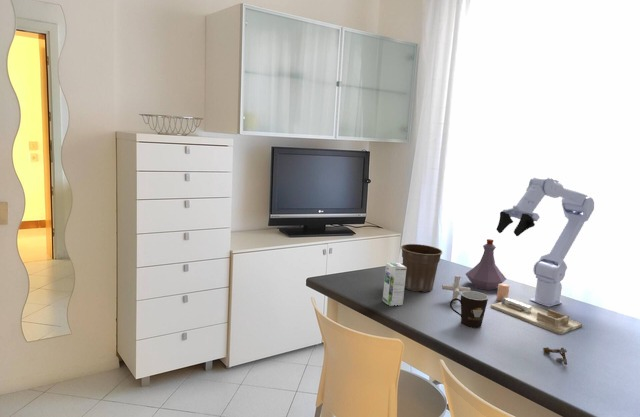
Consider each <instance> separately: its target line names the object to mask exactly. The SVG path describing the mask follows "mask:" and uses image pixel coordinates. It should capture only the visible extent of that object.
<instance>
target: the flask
mask: <svg viewBox="0 0 640 417" xmlns="http://www.w3.org/2000/svg"><path fill="white" fill-rule="evenodd" d="M482 247H483V254H482V256H481V259H480V261H479V262H478V263H477V264H476V265H475V266H474V267H473V268H471V269H469V271H468V272H466V273H465V276H466V277H467V279H468V280H469V281H470V283H471V284H472V285H473V286H474V287H475V288H477V289H481V290H485V291H495V289H498V284H504V282H505V281H506V280H507V278H506V276H505V275H504V274H503V273H502V272H501V270H500V269H499V267H498V265H497V264H496V261H495V255H494V251H495V249H496V245H494V240H493V239H489V238H488V239H486V243H485V244H483V245H482Z"/></svg>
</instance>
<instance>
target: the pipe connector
mask: <svg viewBox="0 0 640 417" xmlns="http://www.w3.org/2000/svg"><path fill="white" fill-rule="evenodd" d="M460 279H461V276H460V275H458V274H455V275H454V282H453V283H452V285H451V284H450V285H449V284H442V286H441V289H442V290H444V291H452V299H455V298H457V299H459V295H461V292H463V291H471V287H468V286H467V287H465V286H460ZM452 299H451V300H452ZM452 303H458V300H455V301H453V302H452Z"/></svg>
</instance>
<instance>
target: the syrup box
mask: <svg viewBox="0 0 640 417" xmlns="http://www.w3.org/2000/svg"><path fill="white" fill-rule="evenodd" d="M405 278H406V267H405V266H403V263H402V264H401V263H400V262H393V261H392V262H386V263H385V270H384V281H383V292H382V302H384V303H385V304H387V305H389V306H388V307H394V305H395V306H397V305H398V306H403V305H404V295H405V289H406V288H405Z"/></svg>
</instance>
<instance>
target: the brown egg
mask: <svg viewBox="0 0 640 417" xmlns="http://www.w3.org/2000/svg"><path fill="white" fill-rule="evenodd" d="M509 291H510V285H509V284H506V283H502V284H498V287H497V292H496V301H498V302H502V298H504V297H507V298H509V294H510V292H509Z"/></svg>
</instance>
